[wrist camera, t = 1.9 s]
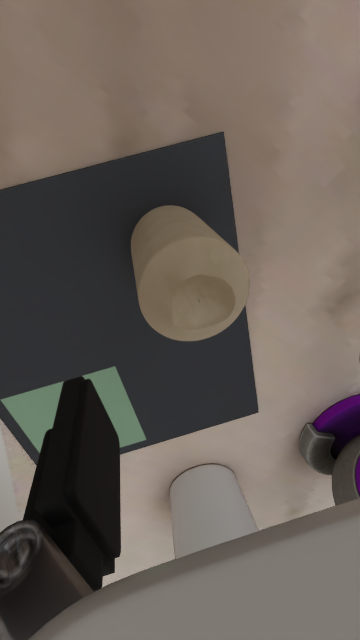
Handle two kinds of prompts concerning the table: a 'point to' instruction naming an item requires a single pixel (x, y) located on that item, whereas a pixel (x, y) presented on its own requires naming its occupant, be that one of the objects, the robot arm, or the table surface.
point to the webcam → (336, 448)
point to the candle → (186, 275)
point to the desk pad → (112, 301)
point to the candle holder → (207, 509)
